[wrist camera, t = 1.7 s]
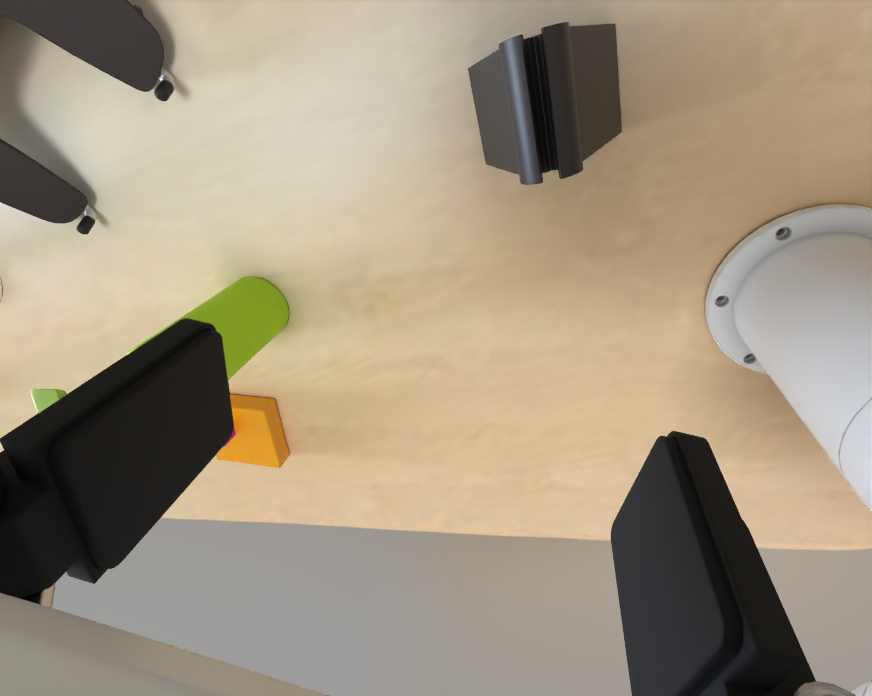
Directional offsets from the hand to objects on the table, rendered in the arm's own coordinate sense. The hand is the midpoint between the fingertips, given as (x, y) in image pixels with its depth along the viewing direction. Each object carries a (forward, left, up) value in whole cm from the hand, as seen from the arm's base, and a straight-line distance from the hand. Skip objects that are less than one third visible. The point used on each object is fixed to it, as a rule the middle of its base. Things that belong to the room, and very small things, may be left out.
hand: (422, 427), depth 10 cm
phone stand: (-2, -5, -28) cm, 28 cm away
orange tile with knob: (+30, +24, -28) cm, 47 cm away
